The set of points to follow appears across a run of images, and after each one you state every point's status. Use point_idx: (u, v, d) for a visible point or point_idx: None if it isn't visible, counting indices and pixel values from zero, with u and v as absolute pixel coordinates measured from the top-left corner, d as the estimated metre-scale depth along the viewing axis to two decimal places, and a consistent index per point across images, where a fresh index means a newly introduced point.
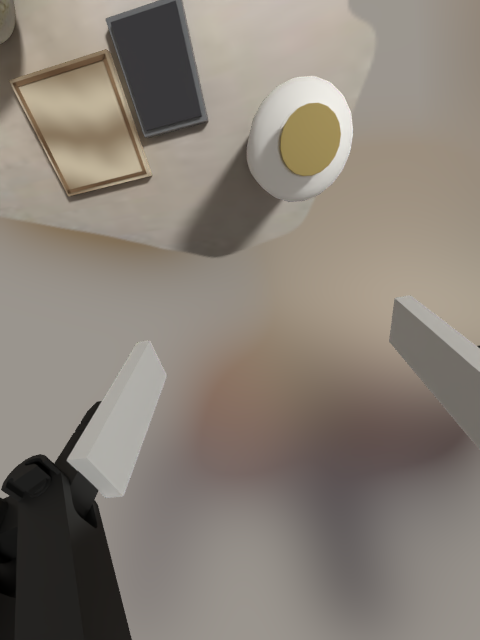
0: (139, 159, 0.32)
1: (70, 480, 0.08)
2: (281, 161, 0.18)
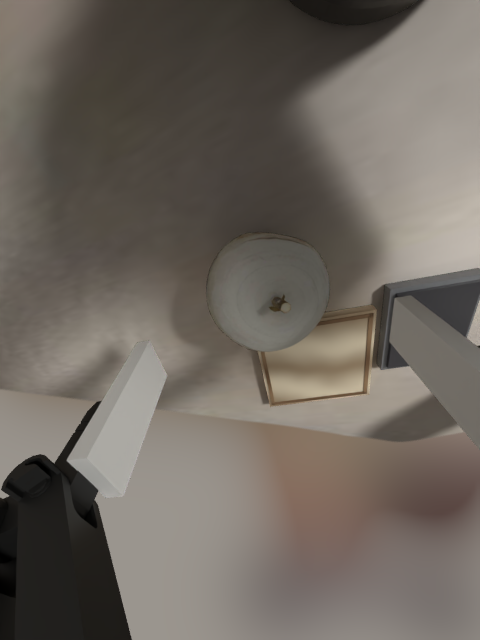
0: (364, 383, 0.29)
1: (70, 480, 0.08)
2: None
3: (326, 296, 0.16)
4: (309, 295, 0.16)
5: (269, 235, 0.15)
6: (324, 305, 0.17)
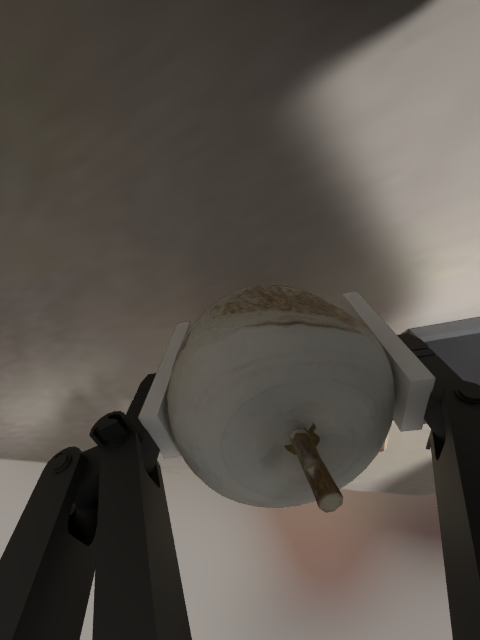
0: None
1: (141, 439, 0.09)
2: None
3: None
4: (365, 429, 0.08)
5: (287, 316, 0.07)
6: (387, 434, 0.09)
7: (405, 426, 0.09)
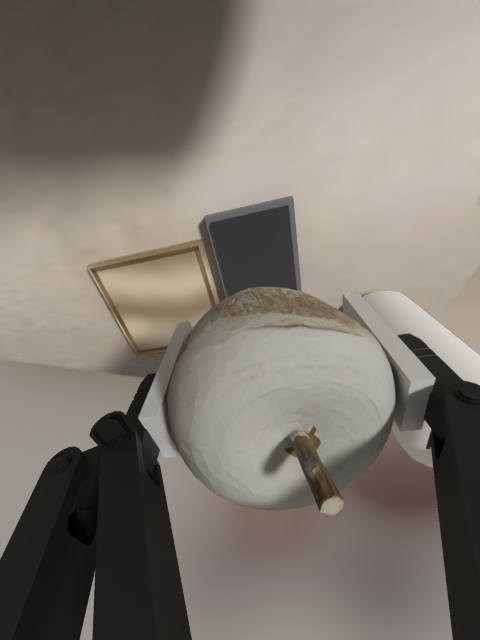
0: None
1: (141, 439, 0.09)
2: None
3: (392, 421, 0.09)
4: (365, 431, 0.08)
5: (287, 319, 0.07)
6: None
7: (405, 426, 0.09)
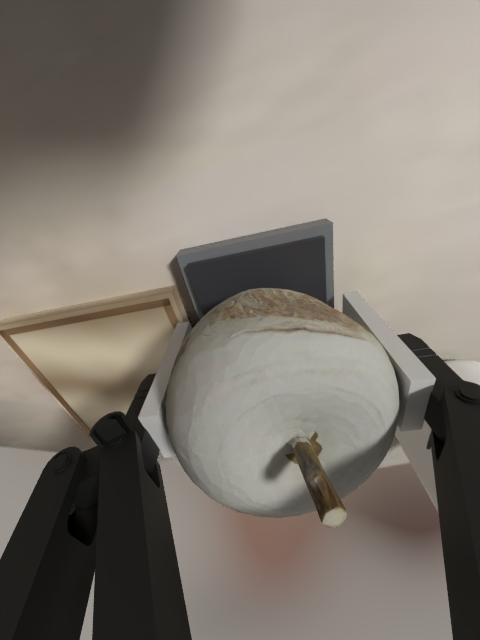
0: None
1: (141, 439, 0.09)
2: None
3: (396, 427, 0.08)
4: (369, 438, 0.08)
5: (288, 322, 0.07)
6: (391, 442, 0.09)
7: (405, 427, 0.09)
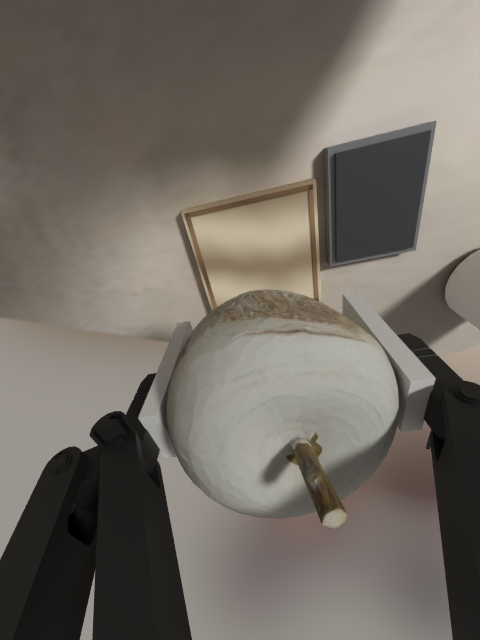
0: (315, 287, 0.26)
1: (141, 439, 0.09)
2: None
3: None
4: (368, 439, 0.08)
5: (289, 324, 0.07)
6: None
7: (405, 427, 0.09)
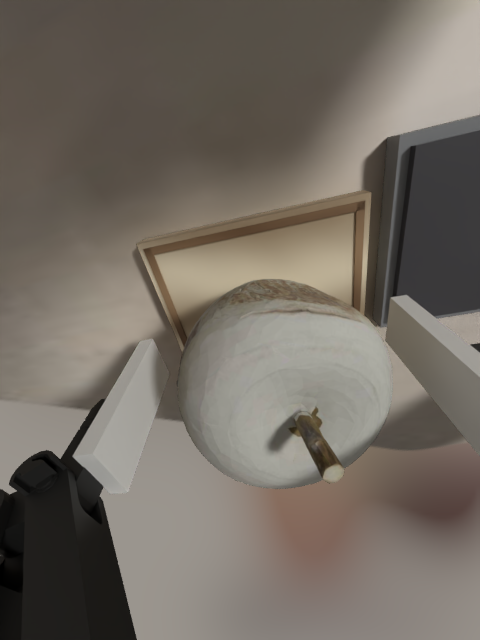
0: None
1: (76, 476, 0.08)
2: None
3: (390, 404, 0.09)
4: (364, 412, 0.08)
5: (292, 305, 0.08)
6: (385, 419, 0.09)
7: None
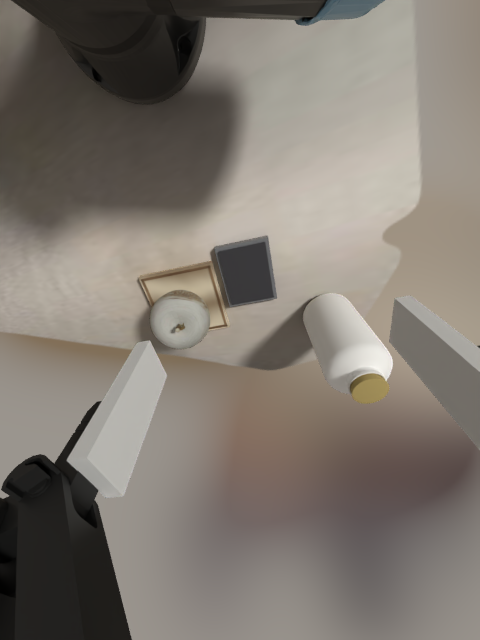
0: (223, 318, 0.43)
1: (70, 480, 0.08)
2: (349, 392, 0.29)
3: (204, 323, 0.35)
4: (194, 323, 0.35)
5: (174, 297, 0.34)
6: (203, 327, 0.35)
7: None
